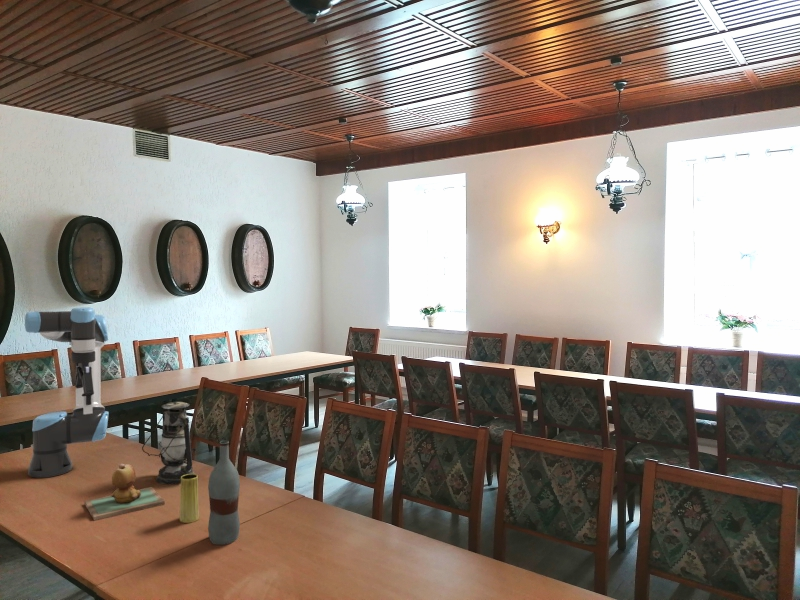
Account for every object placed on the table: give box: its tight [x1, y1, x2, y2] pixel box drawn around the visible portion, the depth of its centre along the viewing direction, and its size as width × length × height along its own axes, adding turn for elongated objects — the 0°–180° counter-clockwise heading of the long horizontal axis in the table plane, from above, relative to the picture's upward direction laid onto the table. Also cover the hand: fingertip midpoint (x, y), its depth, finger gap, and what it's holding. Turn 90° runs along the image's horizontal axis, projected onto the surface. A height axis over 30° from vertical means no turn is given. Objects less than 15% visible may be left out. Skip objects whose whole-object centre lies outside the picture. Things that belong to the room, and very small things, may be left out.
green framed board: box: [84, 486, 166, 521], centre depth 199 cm, size 16×22×1 cm
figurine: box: [110, 463, 141, 504], centre depth 198 cm, size 10×8×15 cm
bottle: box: [207, 440, 241, 546], centre depth 174 cm, size 9×9×30 cm
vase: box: [179, 473, 200, 524], centre depth 187 cm, size 6×6×14 cm
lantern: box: [141, 401, 197, 485], centre depth 222 cm, size 19×19×30 cm
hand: (84, 409), depth 205 cm, fingers open, 13 cm apart
